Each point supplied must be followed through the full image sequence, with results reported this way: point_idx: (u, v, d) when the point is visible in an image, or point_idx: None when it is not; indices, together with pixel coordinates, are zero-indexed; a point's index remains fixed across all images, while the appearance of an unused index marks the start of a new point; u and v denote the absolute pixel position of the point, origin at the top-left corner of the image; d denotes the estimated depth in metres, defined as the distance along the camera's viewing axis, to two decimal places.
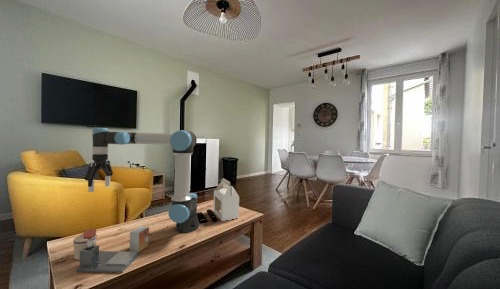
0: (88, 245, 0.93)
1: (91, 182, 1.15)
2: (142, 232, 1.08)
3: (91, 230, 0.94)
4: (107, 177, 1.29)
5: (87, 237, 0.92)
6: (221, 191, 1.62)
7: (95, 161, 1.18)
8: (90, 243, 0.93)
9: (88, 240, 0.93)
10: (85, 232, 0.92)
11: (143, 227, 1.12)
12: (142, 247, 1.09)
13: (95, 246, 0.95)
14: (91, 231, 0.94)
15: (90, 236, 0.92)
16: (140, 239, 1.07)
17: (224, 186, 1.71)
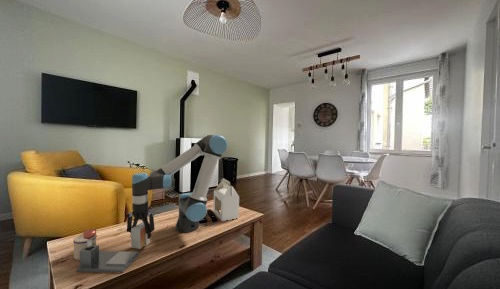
0: (88, 245, 0.93)
1: None
2: (143, 228, 1.08)
3: (91, 230, 0.94)
4: None
5: (87, 237, 0.92)
6: (221, 191, 1.62)
7: None
8: (90, 243, 0.93)
9: (88, 240, 0.93)
10: (85, 232, 0.92)
11: None
12: (144, 243, 1.09)
13: (95, 246, 0.95)
14: (91, 231, 0.94)
15: (90, 236, 0.92)
16: (141, 235, 1.07)
17: (224, 186, 1.71)
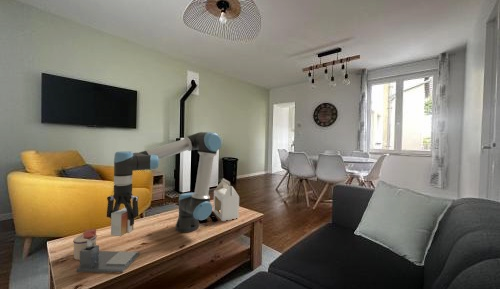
0: (88, 245, 0.93)
1: None
2: (125, 213, 0.95)
3: (91, 230, 0.94)
4: None
5: (87, 237, 0.92)
6: (221, 191, 1.62)
7: None
8: (90, 243, 0.93)
9: (88, 240, 0.93)
10: (85, 232, 0.92)
11: None
12: (125, 230, 0.96)
13: (95, 246, 0.95)
14: (91, 231, 0.94)
15: (90, 236, 0.92)
16: (123, 221, 0.95)
17: (224, 186, 1.71)
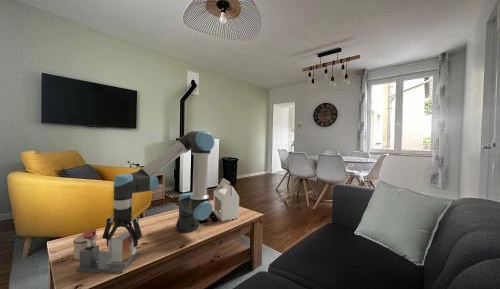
0: (88, 245, 0.93)
1: (108, 241, 0.97)
2: (125, 239, 0.96)
3: (91, 230, 0.94)
4: None
5: (87, 237, 0.92)
6: (221, 191, 1.62)
7: None
8: (90, 243, 0.93)
9: (88, 240, 0.93)
10: (85, 232, 0.92)
11: (127, 233, 1.00)
12: (126, 256, 0.97)
13: (95, 246, 0.95)
14: (91, 231, 0.94)
15: (90, 236, 0.92)
16: (124, 247, 0.95)
17: (224, 186, 1.71)
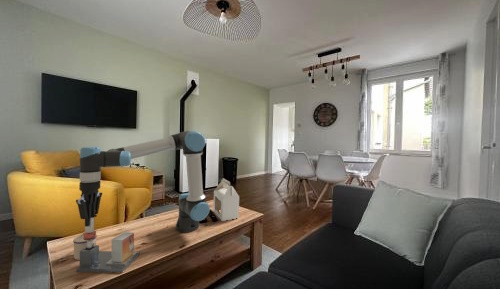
0: (88, 246, 0.93)
1: (89, 221, 0.92)
2: (125, 239, 0.96)
3: None
4: None
5: (87, 238, 0.92)
6: (221, 191, 1.62)
7: (83, 192, 0.89)
8: (90, 244, 0.93)
9: (88, 242, 0.93)
10: (85, 233, 0.92)
11: (127, 233, 1.00)
12: (126, 256, 0.97)
13: (95, 246, 0.95)
14: None
15: (90, 237, 0.92)
16: (124, 247, 0.95)
17: (224, 186, 1.71)
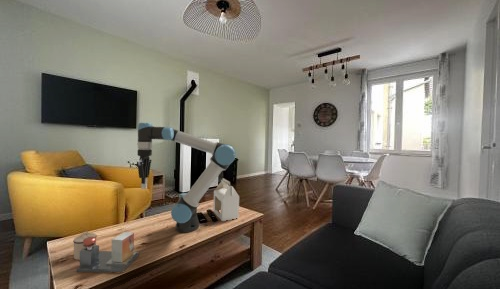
0: None
1: (144, 179, 1.20)
2: (125, 239, 0.96)
3: (91, 238, 0.95)
4: None
5: (87, 245, 0.92)
6: (221, 191, 1.62)
7: (141, 156, 1.17)
8: None
9: (88, 248, 0.93)
10: (85, 240, 0.92)
11: (127, 233, 1.00)
12: (126, 256, 0.97)
13: (95, 246, 0.95)
14: (91, 238, 0.94)
15: (90, 244, 0.92)
16: (124, 247, 0.95)
17: (224, 186, 1.71)
